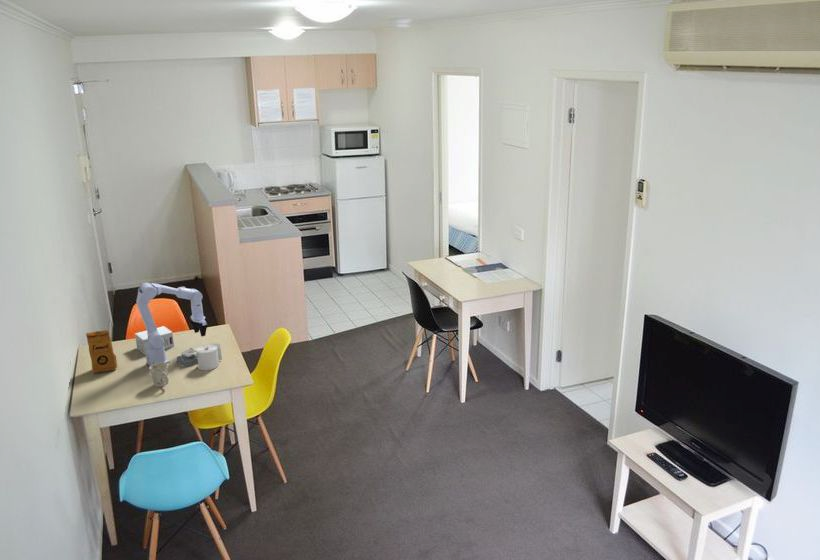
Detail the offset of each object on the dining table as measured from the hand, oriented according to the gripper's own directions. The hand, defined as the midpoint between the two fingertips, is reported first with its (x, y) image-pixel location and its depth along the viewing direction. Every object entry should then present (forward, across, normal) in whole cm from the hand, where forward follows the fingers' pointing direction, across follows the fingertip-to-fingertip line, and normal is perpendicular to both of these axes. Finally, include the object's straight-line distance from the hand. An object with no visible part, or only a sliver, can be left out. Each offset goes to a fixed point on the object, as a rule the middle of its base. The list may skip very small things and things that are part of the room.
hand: (200, 334), depth 364 cm
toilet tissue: (+10, -20, +6) cm, 24 cm away
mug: (+10, -25, +34) cm, 43 cm away
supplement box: (+10, +24, +16) cm, 31 cm away
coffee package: (+10, +15, +47) cm, 51 cm away
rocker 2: (+5, -11, +11) cm, 16 cm away
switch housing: (+10, -9, +11) cm, 17 cm away
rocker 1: (+5, -6, +11) cm, 14 cm away
